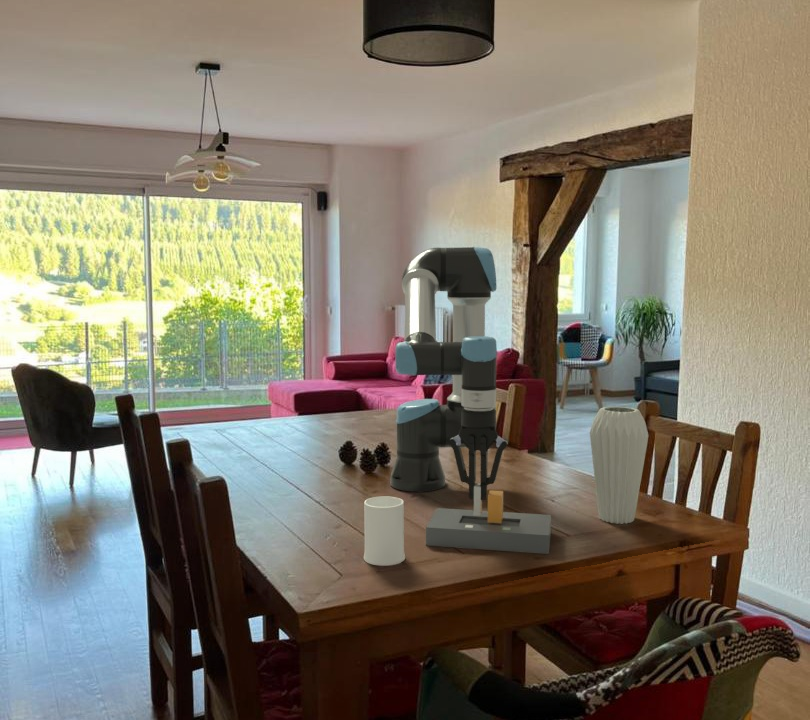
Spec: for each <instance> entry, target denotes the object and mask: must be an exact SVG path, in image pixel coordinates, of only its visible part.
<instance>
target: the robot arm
mask: <svg viewBox="0 0 810 720" xmlns="http://www.w3.org/2000/svg"><path fill="white" fill-rule="evenodd" d="M494 259H495V258H494V255H493V252H492V251H491V250H490V249H489V248H487V247H475V246H473V247H472V246H471V247H464V246H463V247H431V248H428V249H425V250H423V251H421V252H420V253H418V254H416V256H414V257H413V258H412V259H411V261H409V262H408V264H407V265H406V267H405V269H404V271H403V273H402V277H401V289H402V292H403V294H404V296H405V298H404V299H405V300H404V333H403V334H404V335H403V336H404V341H402V342H401V341H400V342H397V343H396V344H395V352H394V353H395V355H394V358H395V359H394V361H395V372H396V373H397V374H399V375H405V376H407V375H408V376H440V375H441V376H442V375H443V376H452V392H451V394H449V395H448V396H447V398H446V404H441V403H440V401H439V399H437V398H423V399H415V400H410V401H407V402H406V401H405V402H404V403H401V404H399V406H398V407H397V409H396V420H395V424H396V458H395V461H394V464H393V467H392V470H391V474H390V478H389V479H390V480H389V481H390V483H389V484H390V486H391V487H392V488H393V489H396V490H399V491H405V492H417V493H418V492H430V491H431V492H432V491H437V490H439V489H442V488H444V487H445V486H446V475H445V472H444V468H443V465H442V462H441V459H440V448H452V451H453V455H454V458H455V462H456V466H457V471H458V474H459V475H458V476H459V478H460V482H461V483H465V484H466V485H468V498H469V500H473V510H474V516H481V513H482V511H483V501H486V499H487V498H488V486H489V485H493V484H494V483H495V481H496V478H497V475H498V471H499V466H500V463H501V461H502V460H501V459H502V456H503V452H504V450H505V449H506V447H507V446H508V443H509V441H508V439H506V438H502V437H501V436H499V432H498V430H497V410H496V407H497V359H498V357H497V356H498V350H497V340H496V338H494V337H493V336H486V331H485V330H486V304H487V303H488V302H489V301H490V300H491V298H492V297H491V295H492V292H493V293H494V292H496V291H497V287H498V286H497V273H496V264H495V260H494ZM437 292H447V293H446V294H447V295H446V296H447V299H448V301H449V302H451V304H452V342H451V341H445V342H444V341H437V327H436V325H437V324H436V294H437ZM494 442H495V443H496V444H495V446H496V448H497V450H496V451H495V455H494V456H495V457H494V460H493V464H492V466H491V467H492V468H491V471H490V475H489V476H488V456H489V455H488V453H489V449H490V448H491V447H492V445H493V444H494ZM462 448H467V449H468V472H467V468H466V465H465V464H466V463H465V460H464V456H463V452H462ZM477 451H479V452H480V482H479V483H478V482H477V483H476V480H477V478H476V477H477V476H476V475H477V474H476V470H477V465H476V464H477Z"/></svg>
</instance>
